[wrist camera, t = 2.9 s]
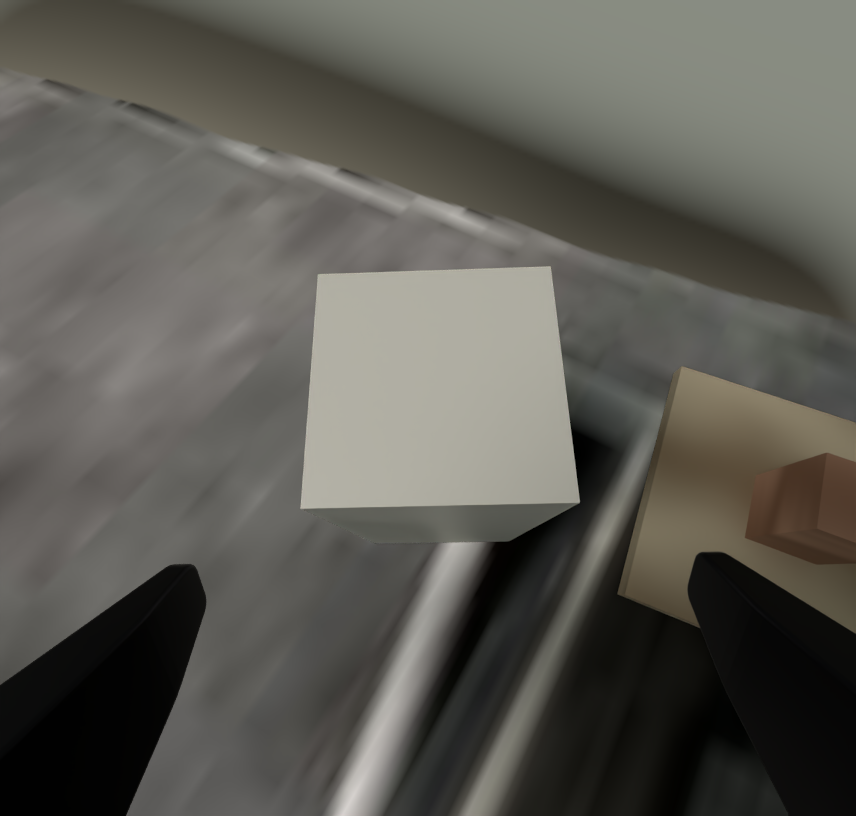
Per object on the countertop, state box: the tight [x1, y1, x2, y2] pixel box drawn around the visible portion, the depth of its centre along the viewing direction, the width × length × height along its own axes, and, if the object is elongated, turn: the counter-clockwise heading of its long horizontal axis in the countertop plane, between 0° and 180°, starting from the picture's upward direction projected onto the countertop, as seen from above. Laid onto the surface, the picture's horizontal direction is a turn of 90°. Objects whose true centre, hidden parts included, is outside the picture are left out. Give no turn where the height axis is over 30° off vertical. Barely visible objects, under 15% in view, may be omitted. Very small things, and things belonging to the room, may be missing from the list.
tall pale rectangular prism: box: [301, 266, 580, 544], centre depth 15 cm, size 5×5×11 cm
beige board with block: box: [617, 366, 856, 633], centre depth 17 cm, size 10×10×4 cm
